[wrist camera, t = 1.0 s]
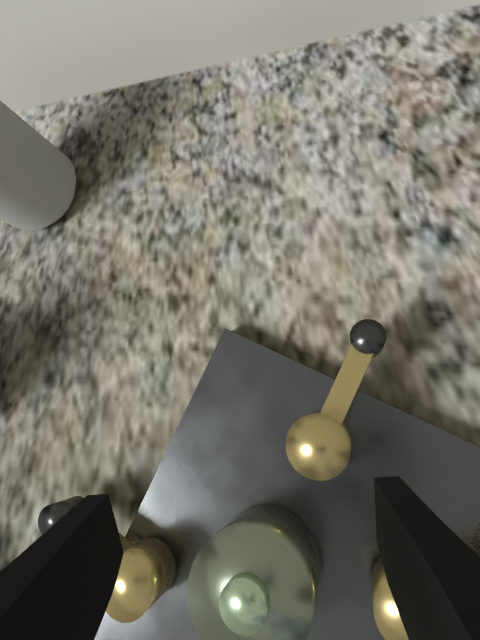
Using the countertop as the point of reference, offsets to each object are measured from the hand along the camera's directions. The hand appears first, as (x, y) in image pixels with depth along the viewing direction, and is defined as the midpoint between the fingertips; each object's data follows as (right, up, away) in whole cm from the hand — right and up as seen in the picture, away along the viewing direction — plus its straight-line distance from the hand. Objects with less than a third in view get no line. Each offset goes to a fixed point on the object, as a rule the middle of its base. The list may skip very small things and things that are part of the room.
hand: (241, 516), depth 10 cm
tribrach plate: (+2, -9, +13) cm, 16 cm away
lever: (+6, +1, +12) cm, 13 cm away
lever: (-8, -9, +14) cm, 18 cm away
